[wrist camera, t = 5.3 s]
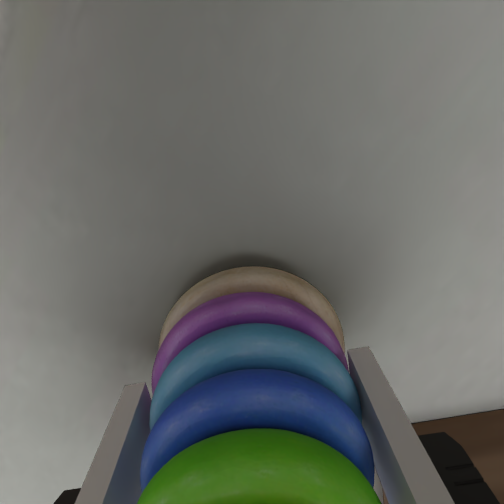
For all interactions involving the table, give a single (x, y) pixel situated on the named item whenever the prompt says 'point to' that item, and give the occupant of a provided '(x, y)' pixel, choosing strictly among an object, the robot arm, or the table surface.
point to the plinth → (475, 443)
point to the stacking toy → (254, 399)
